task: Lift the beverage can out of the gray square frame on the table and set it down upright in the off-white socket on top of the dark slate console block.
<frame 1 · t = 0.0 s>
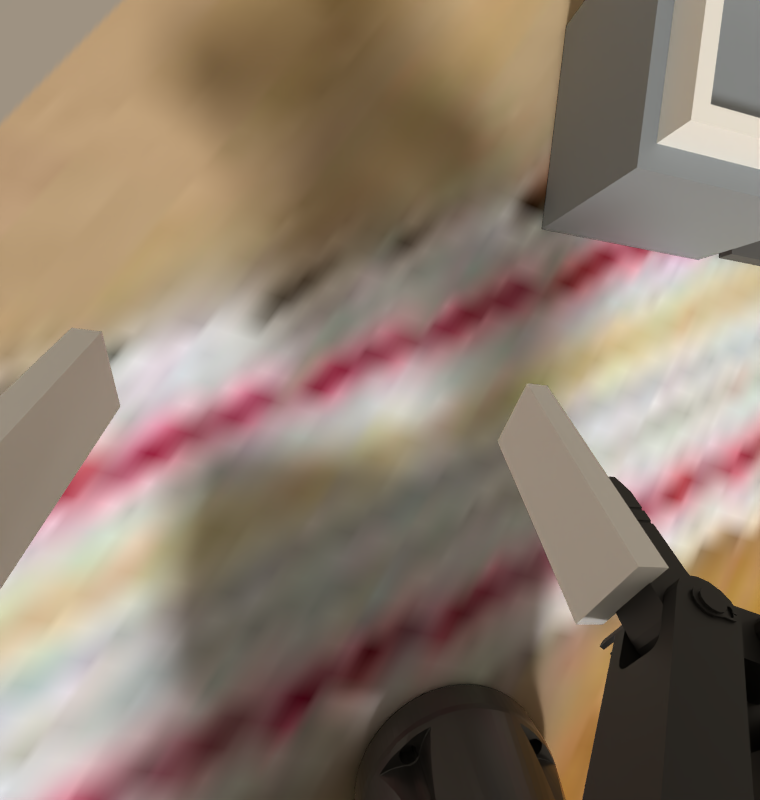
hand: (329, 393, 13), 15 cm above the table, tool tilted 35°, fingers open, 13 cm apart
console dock: (635, 148, 32), on the table
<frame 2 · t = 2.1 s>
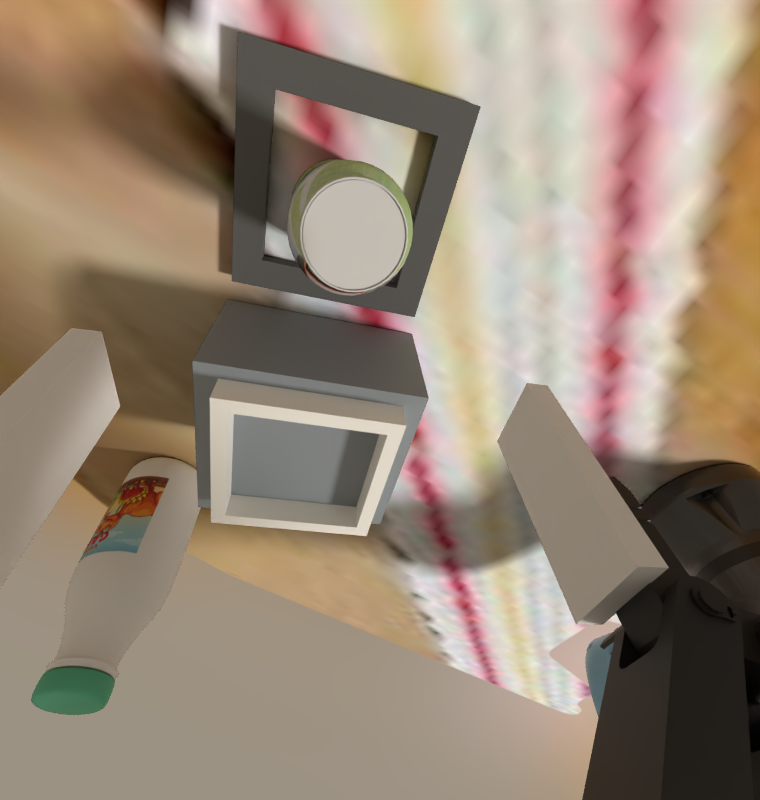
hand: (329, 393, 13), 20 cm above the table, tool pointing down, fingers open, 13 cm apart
milk bottle: (170, 478, 44), on the table
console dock: (311, 386, 37), on the table
beverage can: (343, 198, 28), resting in gray square frame
gray square frame: (343, 199, 28), on the table
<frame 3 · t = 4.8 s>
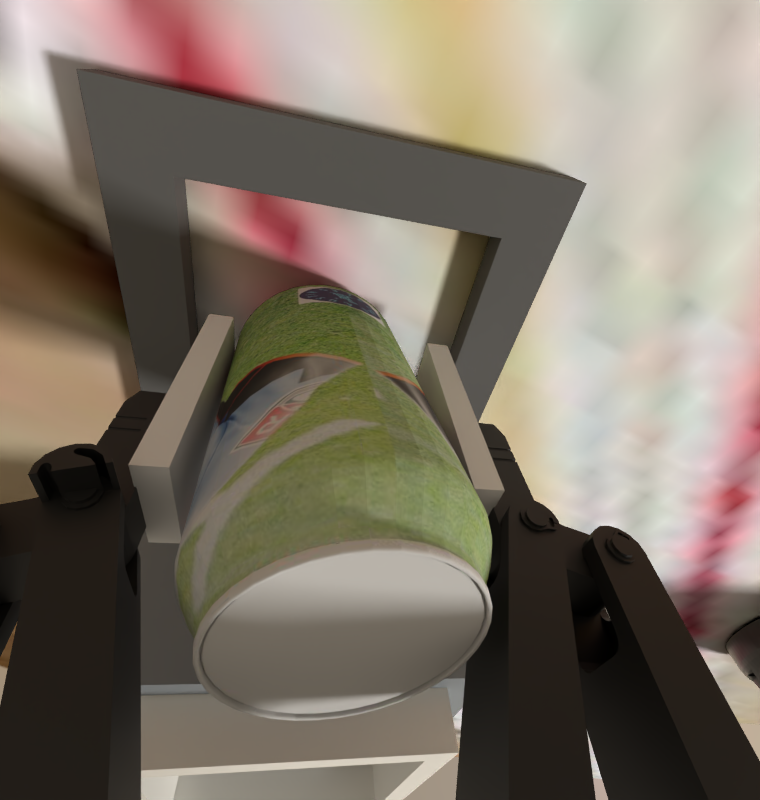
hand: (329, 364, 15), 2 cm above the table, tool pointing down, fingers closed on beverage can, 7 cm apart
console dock: (299, 556, 26), on the table
beverage can: (330, 333, 16), resting in gray square frame, touching gripper
gray square frame: (330, 336, 16), on the table
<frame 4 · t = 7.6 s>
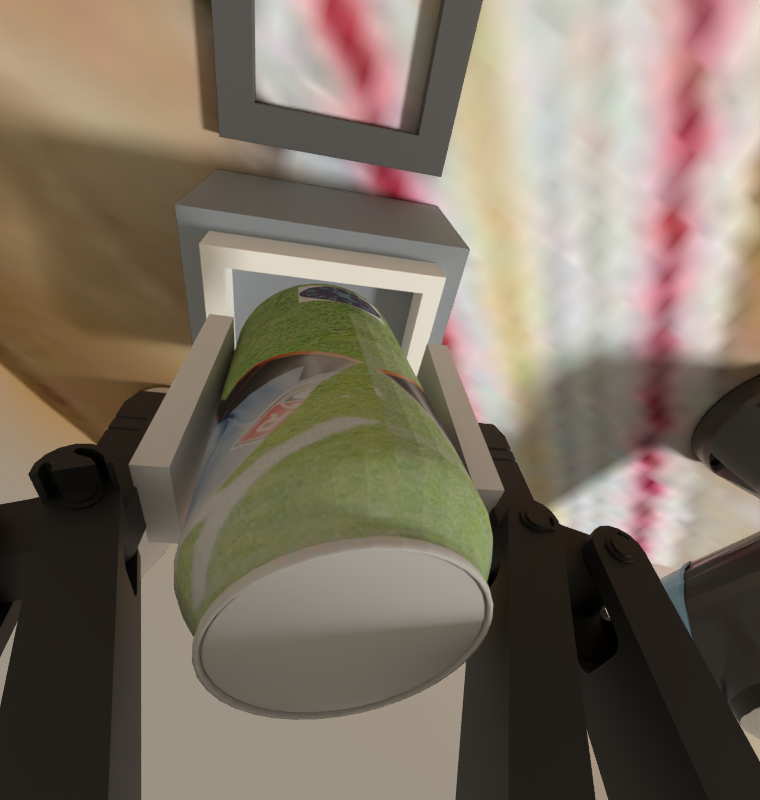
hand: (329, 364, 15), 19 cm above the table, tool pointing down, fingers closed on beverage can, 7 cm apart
milk bottle: (173, 415, 39), on the table
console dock: (323, 285, 32), on the table
beverage can: (330, 332, 16), point 16 cm above the table, touching gripper
gray square frame: (348, 9, 22), on the table
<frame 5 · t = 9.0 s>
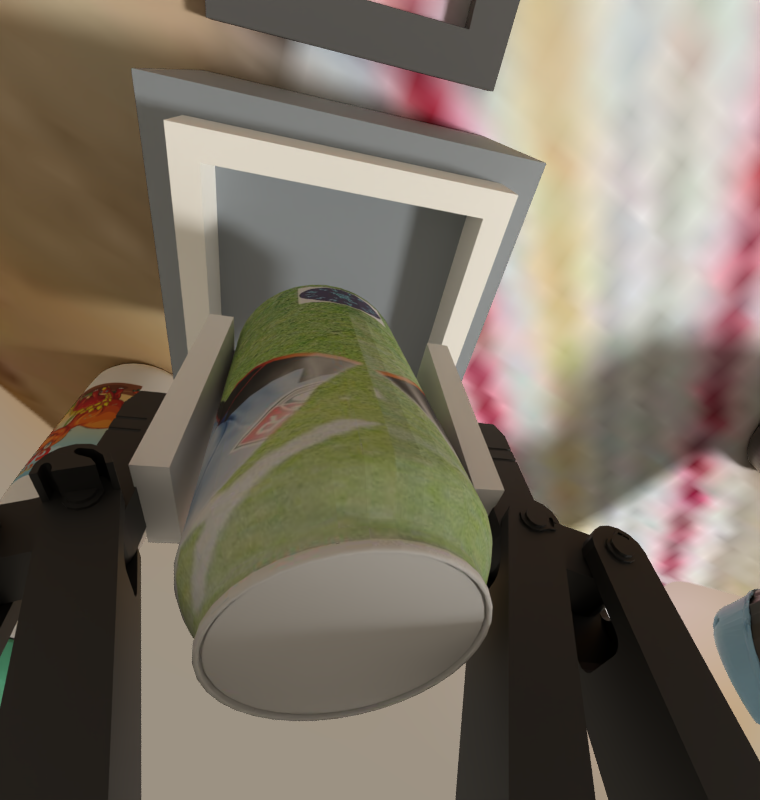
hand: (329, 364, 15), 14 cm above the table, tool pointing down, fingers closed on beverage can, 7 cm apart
milk bottle: (149, 398, 33), on the table
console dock: (335, 238, 26), on the table
beverage can: (330, 333, 16), point 12 cm above the table, touching gripper
when the fingers open (12 cm above the table, at t = 10.2 s): beverage can drops 1 cm, resting on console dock.
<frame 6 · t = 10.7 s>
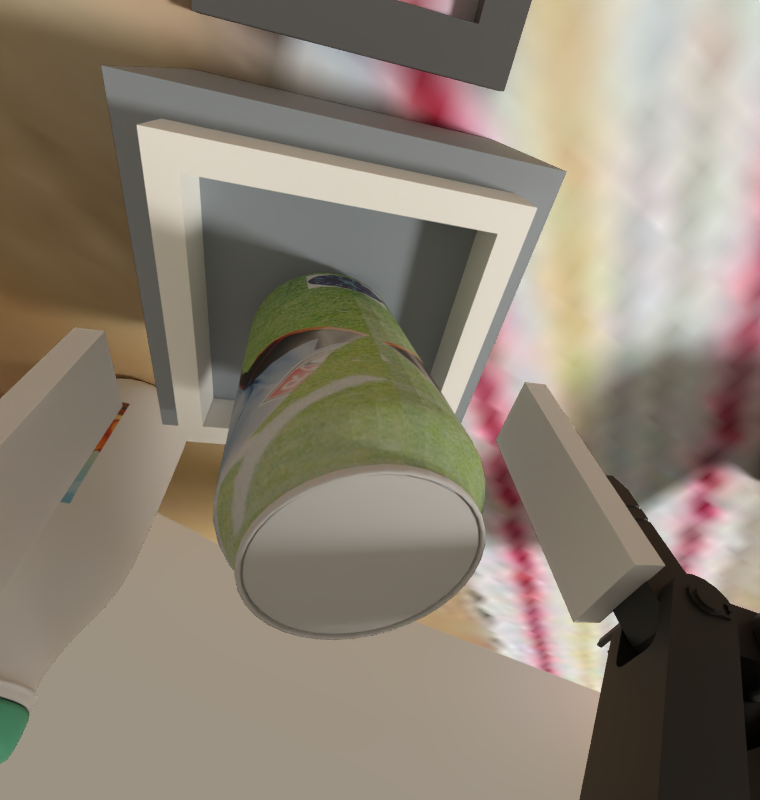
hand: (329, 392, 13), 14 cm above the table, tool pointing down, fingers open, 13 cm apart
milk bottle: (138, 414, 31), on the table
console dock: (333, 248, 24), on the table
beverage can: (335, 319, 18), point 9 cm above the table, touching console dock
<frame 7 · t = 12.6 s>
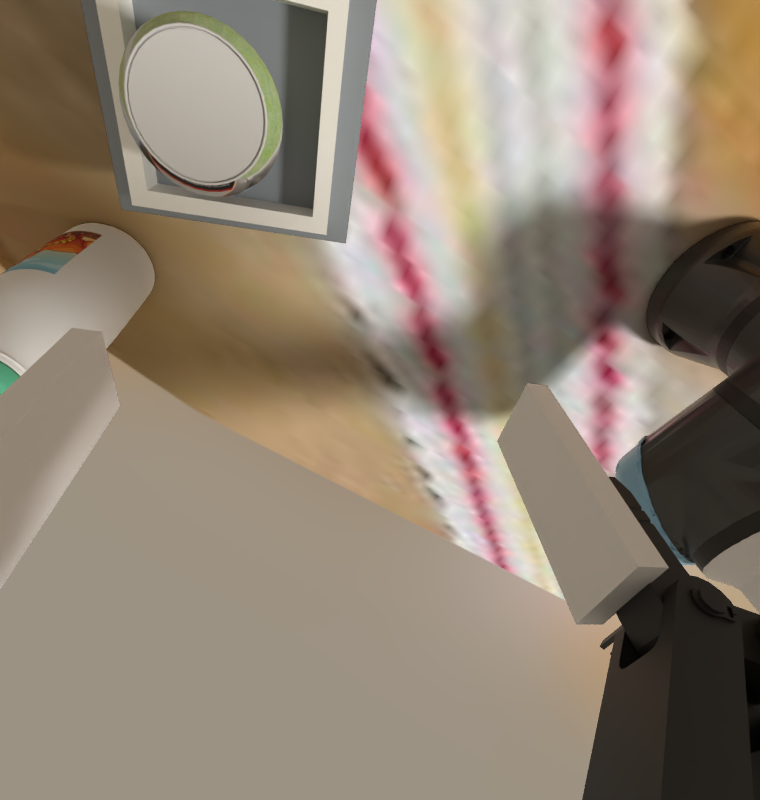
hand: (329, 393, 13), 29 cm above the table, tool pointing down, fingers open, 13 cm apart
milk bottle: (112, 263, 38), on the table
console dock: (255, 97, 31), on the table
beverage can: (239, 108, 25), point 9 cm above the table, touching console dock
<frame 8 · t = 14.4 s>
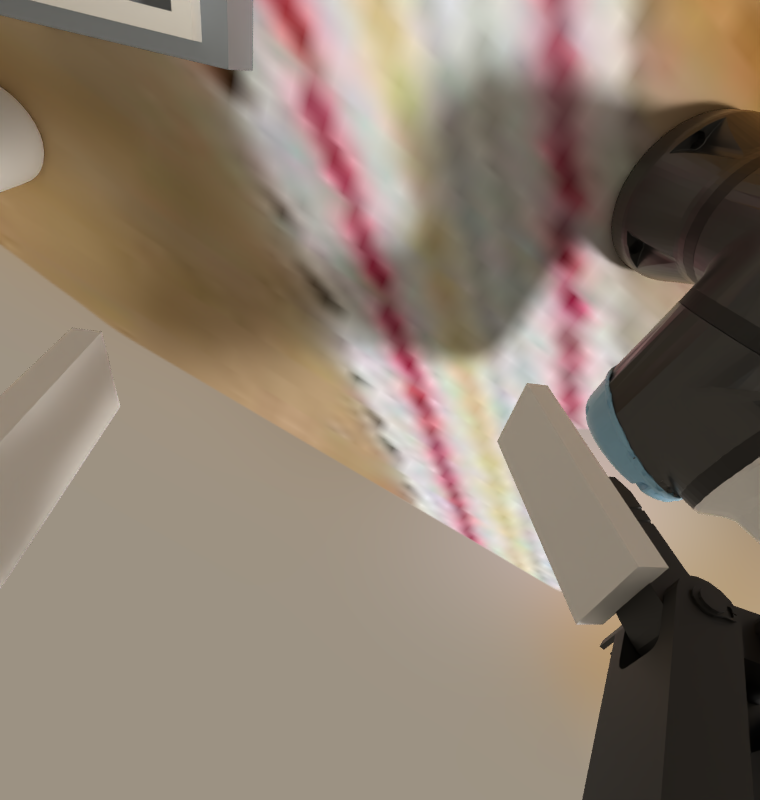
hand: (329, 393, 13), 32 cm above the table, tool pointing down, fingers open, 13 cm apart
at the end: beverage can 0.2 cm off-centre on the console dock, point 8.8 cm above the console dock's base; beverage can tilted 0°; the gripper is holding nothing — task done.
